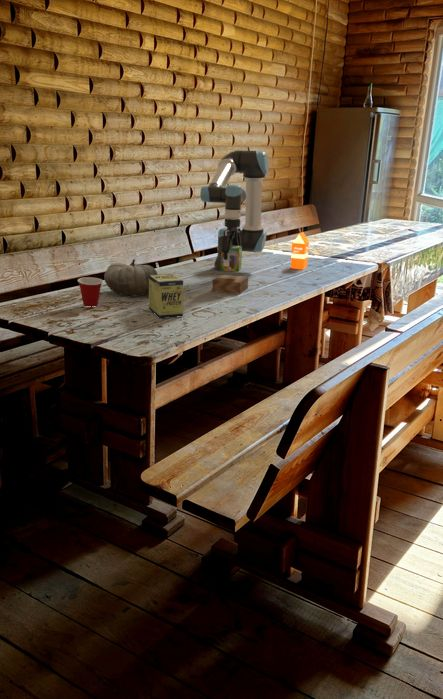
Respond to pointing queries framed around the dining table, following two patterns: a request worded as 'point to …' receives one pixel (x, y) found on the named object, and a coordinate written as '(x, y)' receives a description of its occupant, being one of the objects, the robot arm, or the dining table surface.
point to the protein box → (166, 295)
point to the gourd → (129, 278)
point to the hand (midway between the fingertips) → (231, 264)
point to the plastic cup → (90, 290)
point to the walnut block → (230, 284)
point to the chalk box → (232, 259)
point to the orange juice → (299, 252)
